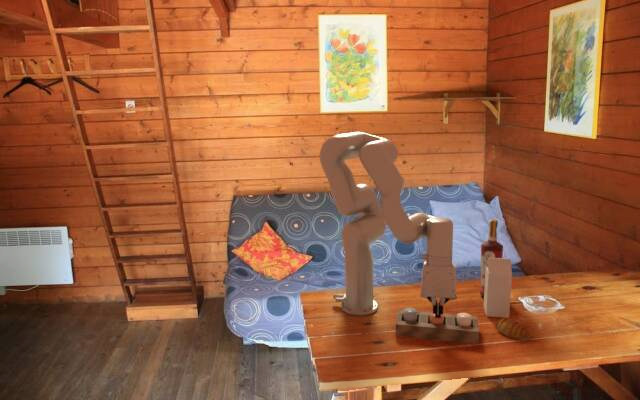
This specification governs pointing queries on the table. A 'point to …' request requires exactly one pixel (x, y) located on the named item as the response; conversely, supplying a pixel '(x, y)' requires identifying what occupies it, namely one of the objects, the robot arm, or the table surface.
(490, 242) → the liquor
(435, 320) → the brick key
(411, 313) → the grey rounded block
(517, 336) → the pastry
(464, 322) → the white button
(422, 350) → the table surface
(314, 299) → the table surface
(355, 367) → the table surface
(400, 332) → the console
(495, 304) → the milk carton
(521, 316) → the table surface
